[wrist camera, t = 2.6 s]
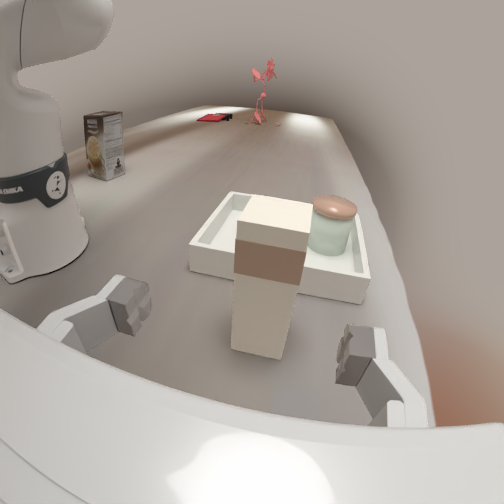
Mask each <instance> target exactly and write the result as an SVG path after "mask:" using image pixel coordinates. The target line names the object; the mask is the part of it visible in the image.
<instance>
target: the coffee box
mask: <svg viewBox="0 0 504 504" xmlns="http://www.w3.org/2000/svg"><path fill="white" fill-rule="evenodd" d="M122 122H123V121H122V112H115V111H101V112H97V113H93V114H89V115H85V116H84V132H85V145H86V156H87V166H88V174H89V176H92V177H95V178H98V179H101V180H105V181H109V180H111V179H113V178H116V177H118V176H121V175H123V174H125V166H124V149H123V125H122V124H123V123H122Z"/></svg>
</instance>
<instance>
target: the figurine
mask: <svg viewBox="0 0 504 504" xmlns="http://www.w3.org/2000/svg"><path fill="white" fill-rule="evenodd" d="M273 70H274V64H273V59H271V61H270V60H268V67H267V69H266V71H265V72H266V73H265V72H264V73H265V76H267V80H268V81H269V80H270V78H272V77H273V76H272V73H273V75H274V76H275V77H276V75H275V74H274V72H273ZM252 73H253V75H254V81H257V80H259V79H260V80H262V82H263V83H264V84H265V89H266V83H265V82H264V81H263V80H264V78H265V76H264V78H263V79H262V76H263V75H264V73H263V75H262V76H261V77H260V74H259V73H258V71H257V70H255V69H254V68H253V69H252ZM255 77H256V78H257V80H255ZM276 78H277V77H276ZM265 97H266V94H265V90H264V93H262V94H261V98H265ZM261 98H260V99H261ZM258 100H259V99H258ZM258 100H257V102H258ZM262 100H263V99H262ZM261 114H262V116H263V117H264V119H265V121H266V118H265V116H264V114H263V109H262V111H261V113H260V115H261ZM260 115H258V113H257V111H256V112H255V116H254V117H253V119H254V118H255V117H256V121H258V122H259V123H260V124H261V119H260ZM253 119H252V120H251V122H252V121H253ZM251 122H250V123H251ZM245 124H246V123H245ZM279 124H280V123H279ZM279 126H280V125H279Z"/></svg>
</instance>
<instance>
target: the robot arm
mask: <svg viewBox="0 0 504 504" xmlns="http://www.w3.org/2000/svg"><path fill="white" fill-rule="evenodd" d="M113 15H114V11H113V5H112V2H111V0H12V1H8V2H5V3H1V4H0V274H1V275H2V276H3V277H4V278H5V279H6V280H7V281H8V282H9V283H15V282H18V281H20V280H22V279H24V278H27V277H30V276H35V275H41V274H45V273H49V272H52V271H54V270H57V269H59V268H61V267H63V266H65V265H67V264H68V263H70V262H71V261H73V260H74V259H75V258H77V257H78V256H79V255H80V254H81V253H82V252H83V250H84V249H85V248H86V246H87V244H88V240H89V237H88V234H87V232H86V230H85V225H86V222H85V219H84V217H83V216H81V215H80V211H79V208H78V204H77V201H76V197H75V194H74V190H73V187H72V184H71V182H69V181H68V180H69V176H70V174H69V167H68V166H69V163H68V160H67V155H66V153H64V152H63V142H62V131H61V118H60V107H59V105H58V102H57V101H56V100H55V98H54V97H52V96H51V95H49V94H47V93H44V92H41V91H38V90H34V89H30V88H26V87H23V86H21V85H20V84H19V82H18V79H17V73H18V71H19V70H22V69H23V68H26V67H30V66H34V65H39V64H43V63H48V62H53V61H58V60H63V59H67V58H70V57H73V56H76V55H79V54H82V53H85V52H88V51H90V50H94V49H96V48H97V47H98V46H99V45H100V44H101V43H102V42H103V40H104V39H105V37H106V36H107V34H108V33H109V31H110V28H111V25H112V22H113ZM148 291H149V287H148V284H147V283H146V282H143V281H139V280H136V279H132V278H129V277H124V276H121V275H115V276H114V277H113V278H112V279H111V280H110V281H109V282H108V283H107V284H106V285H105V286H104V288H103V289H102V290H101V291H100V292H99V293H98V294H97V295H96V296H94V295H93V296H90V297H88V298H85V299H83V300H80V301H78V302H75V303H73V304H71V305H68V306H66V307H63V308H61V309H58V310H56V311H53V312H51V313H50V314H49V315H48V316H47V317H46V318H45V320H44V321H43V322H42V323H41V324H40V325H39V326H38V327H37V329H34V328H33V327H31V326H29V325H27V324H26V323H24V322H22V321H21V320H19V319H17V318H15V317H14V316H12V315H11V314H9V313H7V312H6V311H4V310H2V309H1V308H0V504H504V424H503V423H499V422H496V423H495V422H494V423H485V424H477V425H466V426H450V427H428V419H427V411H426V403H425V400H424V399H423V398H422V396H421V395H420V394H419V393H418V391H417V390H416V389H415V388H414V386H413V385H412V384H411V383H410V381H409V380H408V379H407V378H406V376H405V375H404V374H403V373H402V371H401V370H400V369H399V368H398V367H397V365H396V364H395V363H394V362H393V361H391V360H389V353H388V345H387V338H386V331H385V329H384V328H378V327H369V326H362V325H355V324H347V325H346V327H345V330H344V337H342V338H341V340H340V343H339V346H338V350H337V362H338V364H339V365H338V367H337V369H336V382H335V384H342V385H348V386H355V387H356V389H357V391H358V393H359V395H360V396H361V398H362V400H363V402H364V404H365V405H366V407H367V409H368V411H369V413H370V415H371V417H372V418H373V420H372V421H371V423H370V424H369V425H368V426H361V425H349V424H339V423H330V422H322V421H314V420H307V419H300V418H294V417H288V416H282V415H277V414H271V413H266V412H261V411H256V410H252V409H247V408H243V407H238V406H234V405H230V404H226V403H222V402H218V401H214V400H211V399H207V398H203V397H200V396H196V395H193V394H190V393H186V392H183V391H180V390H177V389H174V388H171V387H167V386H164V385H162V384H159V383H156V382H153V381H150V380H147V379H144V378H142V377H139V376H136V375H134V374H131V373H128V372H126V371H123V370H121V369H118V368H116V367H113V366H111V365H109V364H106V363H104V362H102V361H99V360H97V359H95V358H93V357H90V356H88V355H87V353H86V352H87V351H88V350H90V349H92V348H93V347H95V346H96V345H98V344H100V343H101V342H103V341H105V340H106V339H108V338H110V337H111V336H113V335H115V334H116V333H118V332H121V333H124V334H128V335H131V336H135V335H136V333H137V332H138V331H139V329H140V328H141V321H143V320H145V319H147V317H148V316H149V314H150V311H151V306H152V302H151V298H150V297H149V295H148V294H147V293H148Z"/></svg>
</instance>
